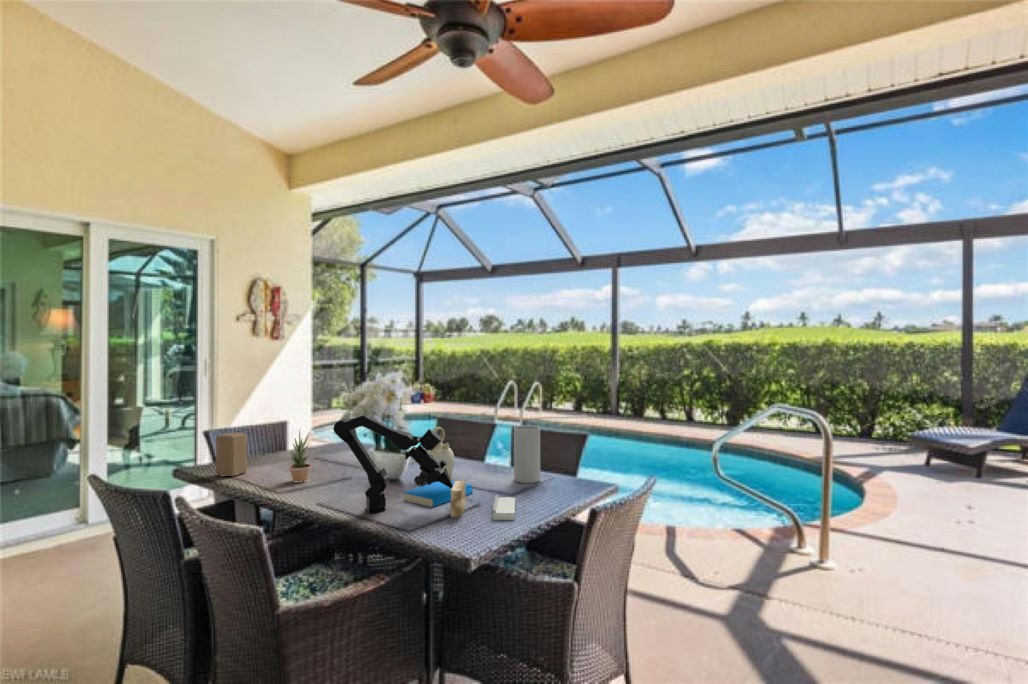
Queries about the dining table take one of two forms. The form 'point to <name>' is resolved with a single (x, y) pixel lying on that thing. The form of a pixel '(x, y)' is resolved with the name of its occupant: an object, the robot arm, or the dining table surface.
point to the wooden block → (231, 454)
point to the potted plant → (299, 461)
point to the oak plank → (458, 498)
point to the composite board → (504, 508)
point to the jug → (443, 452)
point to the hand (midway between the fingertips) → (452, 487)
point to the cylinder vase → (527, 454)
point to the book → (432, 494)
